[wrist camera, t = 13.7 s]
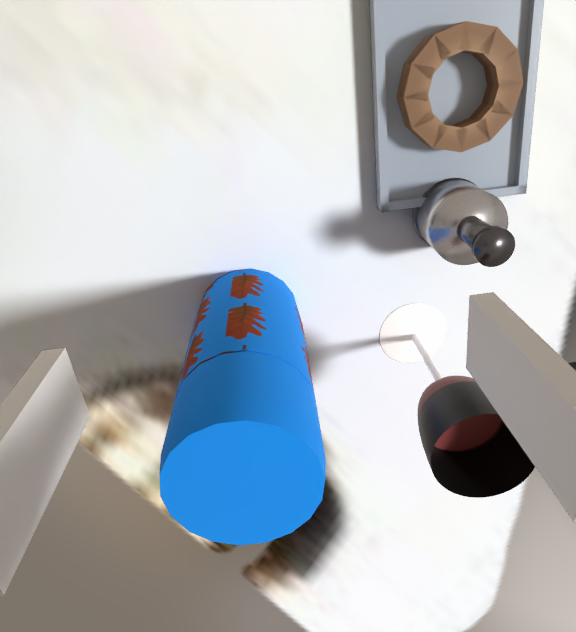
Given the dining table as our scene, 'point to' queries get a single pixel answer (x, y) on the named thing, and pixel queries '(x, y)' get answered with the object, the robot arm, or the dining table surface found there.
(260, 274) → the thermos
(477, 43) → the ring
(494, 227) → the metal peg stand
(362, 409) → the dining table surface
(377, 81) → the tray
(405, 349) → the wineglass
